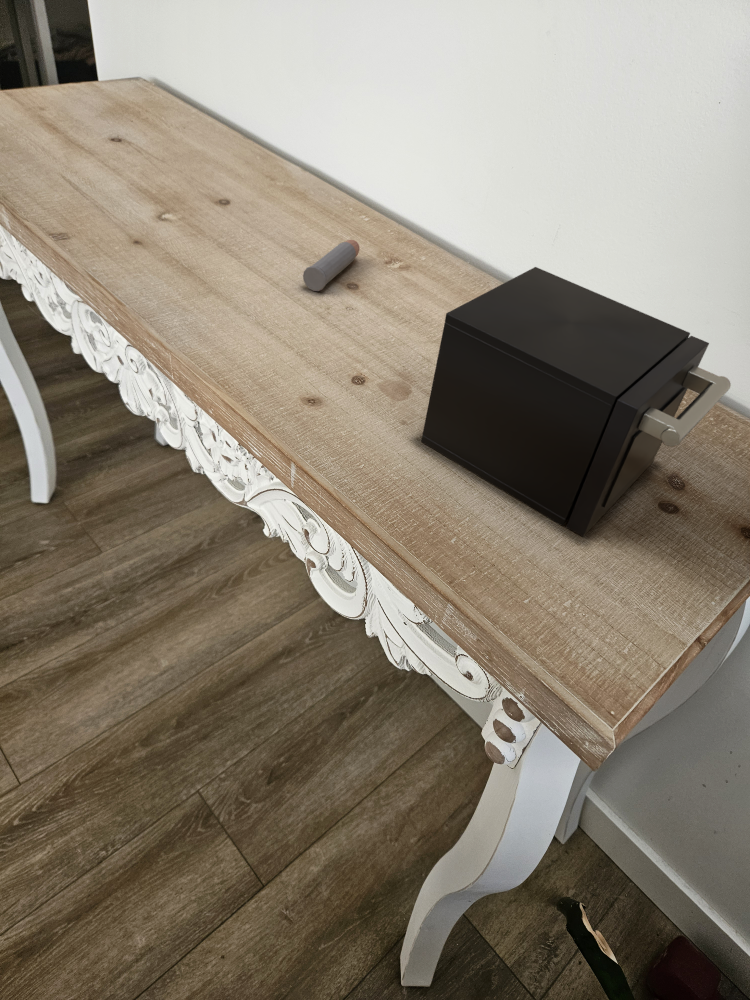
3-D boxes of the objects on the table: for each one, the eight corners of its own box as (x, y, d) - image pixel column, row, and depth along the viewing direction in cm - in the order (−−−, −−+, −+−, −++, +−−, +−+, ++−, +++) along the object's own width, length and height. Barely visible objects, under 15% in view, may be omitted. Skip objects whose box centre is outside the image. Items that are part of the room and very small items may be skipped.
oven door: (684, 479, 64) (748, 358, 56) (618, 557, 56) (681, 430, 47) (636, 454, 66) (691, 334, 58) (565, 527, 58) (617, 399, 49)
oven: (633, 454, 67) (690, 332, 58) (562, 526, 58) (616, 396, 49) (502, 385, 73) (535, 266, 64) (420, 441, 64) (446, 312, 56)
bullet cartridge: (324, 294, 83) (326, 270, 81) (301, 287, 84) (302, 263, 82) (362, 261, 91) (365, 238, 89) (341, 254, 92) (343, 232, 90)
